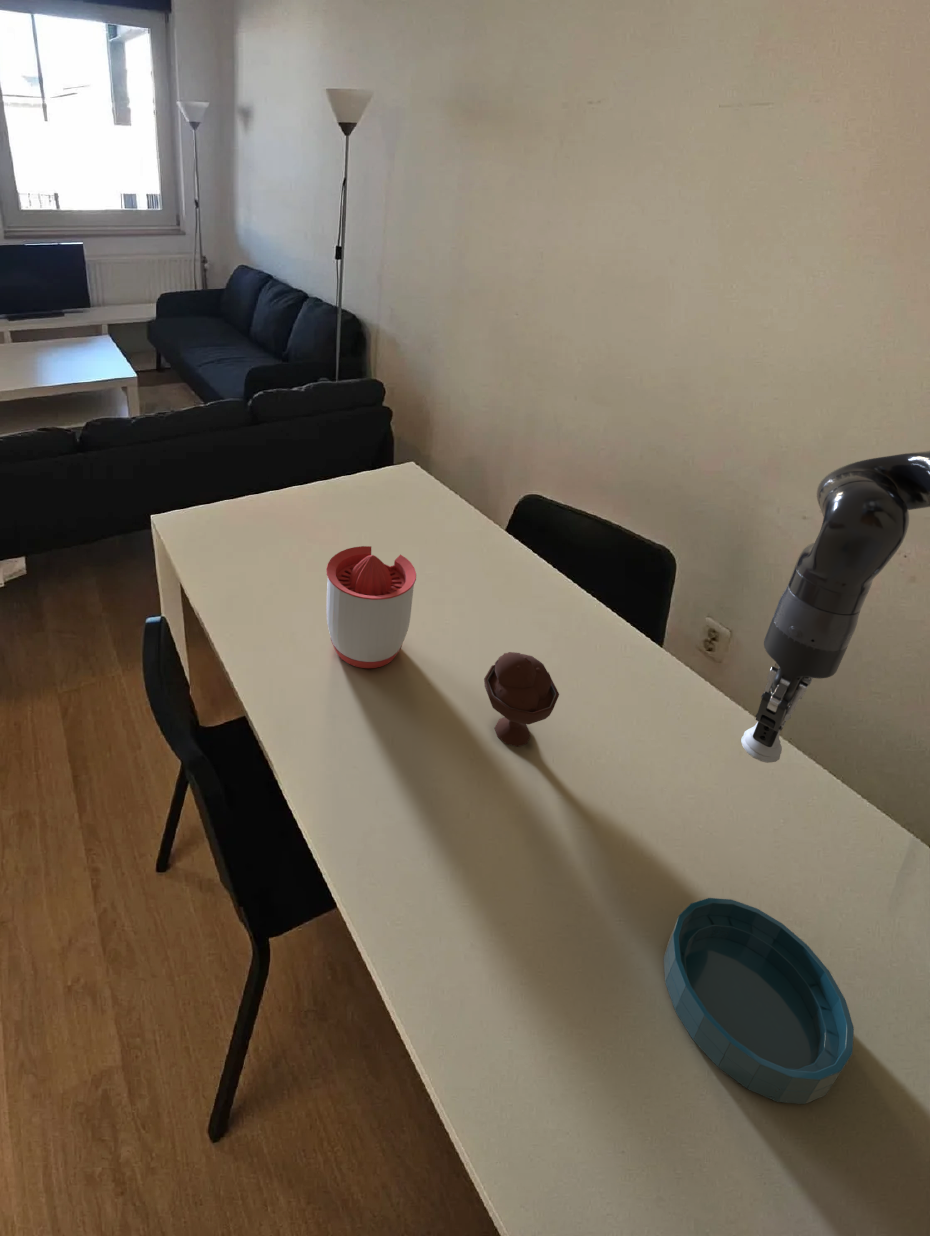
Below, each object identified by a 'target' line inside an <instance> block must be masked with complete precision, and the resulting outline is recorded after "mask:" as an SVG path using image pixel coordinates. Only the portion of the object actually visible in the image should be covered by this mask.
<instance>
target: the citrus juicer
mask: <svg viewBox="0 0 930 1236" xmlns="http://www.w3.org/2000/svg"><path fill="white" fill-rule="evenodd" d="M393 561H394V563H393V565H389V564H386V563H384V562H383V561H382V560H381V559H380V558H379V557H378V556H376V555H374V554H372V546H367V545H361V546H353V547H350V548H346V549H343V550H341V551H339V552H337V553H336V554H334V555H333V556H332V557H331V558H329V561H328V562H327V564H326V571H325V572H326V577H327V580H326V581H327V585H326V609H325V610H326V623H327V629H328V633H329V636H330V641H331V644H332V646H333V648H334V651H335V652H336V654H337V656H338V657H339V658H340V659H341V660H342V661H343V662H345V663H347V664H349V665H351V666H352V667H356V668H361V669H376V668H380V667H381V668H382V667H384V666H386V665H388V664H389V663H391V662H392V661H393V660H394V659H395V657H396V656H397V655H398V654H399V652H400V650H401V649H402V646H403V644H404V641H405V639H406V636H407V634H408V630H409V627H410V622H411V615H412V606H413V595H414V588H415V587H414V586H415V584H416V581H417V572H416V569H415V566H414V564H413V563H412V562H411V561H410V560H409V559H408V558H407V557H405V556H404V555H402V554H399V555H398V556H397V558H395V560H393Z"/></svg>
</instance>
